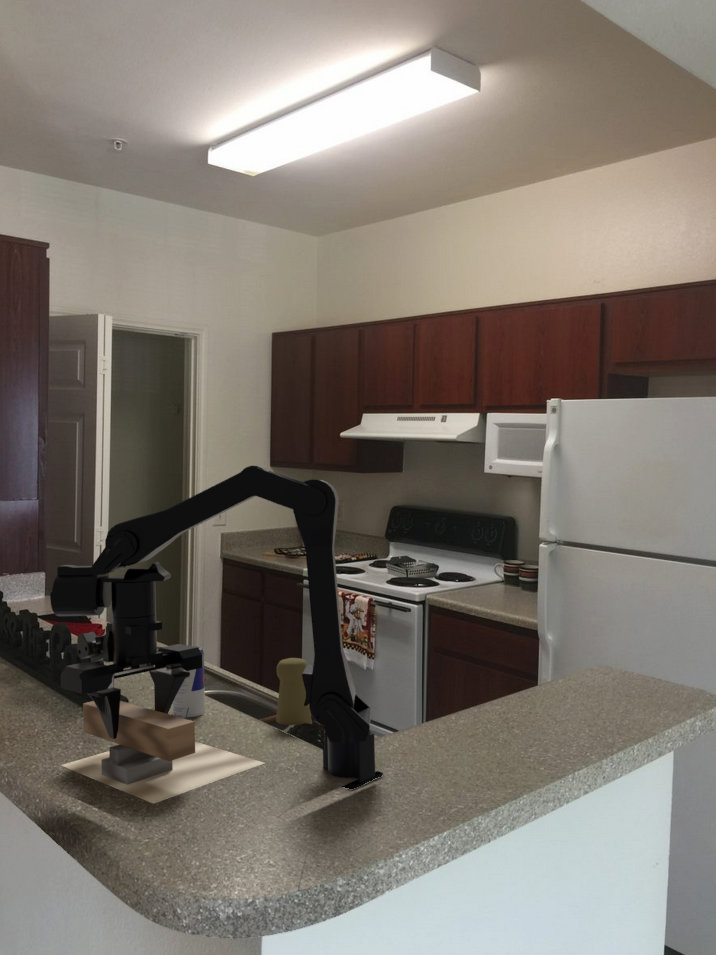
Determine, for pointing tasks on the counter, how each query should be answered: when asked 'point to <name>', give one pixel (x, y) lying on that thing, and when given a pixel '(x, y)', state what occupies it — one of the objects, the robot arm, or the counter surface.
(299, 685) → the cork
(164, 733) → the walnut bar
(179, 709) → the energy drink
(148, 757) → the flat beige square board
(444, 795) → the counter surface
